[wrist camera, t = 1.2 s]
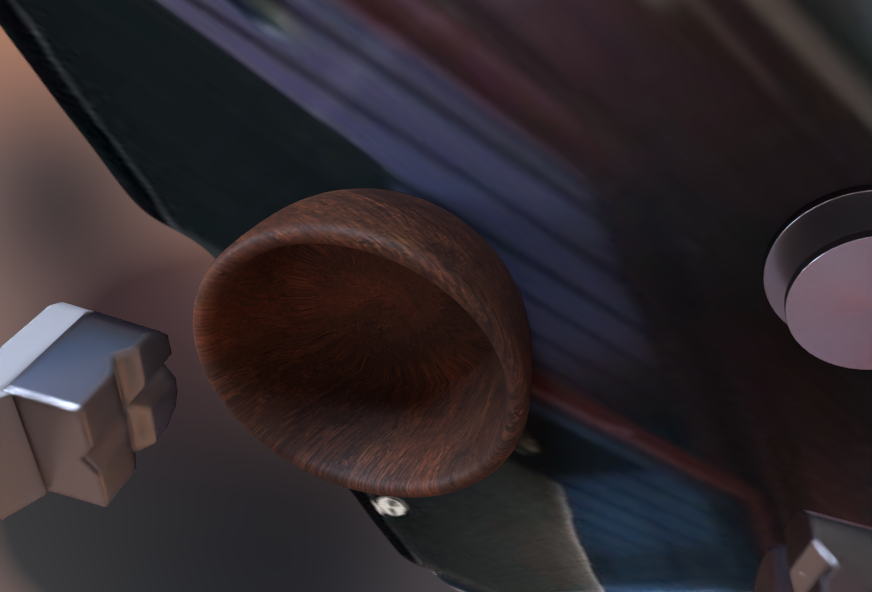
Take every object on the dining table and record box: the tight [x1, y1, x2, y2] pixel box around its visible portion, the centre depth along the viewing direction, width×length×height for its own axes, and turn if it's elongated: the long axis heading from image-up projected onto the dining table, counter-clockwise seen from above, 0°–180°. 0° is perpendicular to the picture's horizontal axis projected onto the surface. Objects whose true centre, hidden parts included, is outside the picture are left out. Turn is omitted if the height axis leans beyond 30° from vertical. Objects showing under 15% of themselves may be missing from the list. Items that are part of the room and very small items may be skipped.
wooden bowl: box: [193, 188, 532, 497], centre depth 56 cm, size 25×25×10 cm
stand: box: [762, 184, 872, 370], centre depth 46 cm, size 12×12×4 cm
